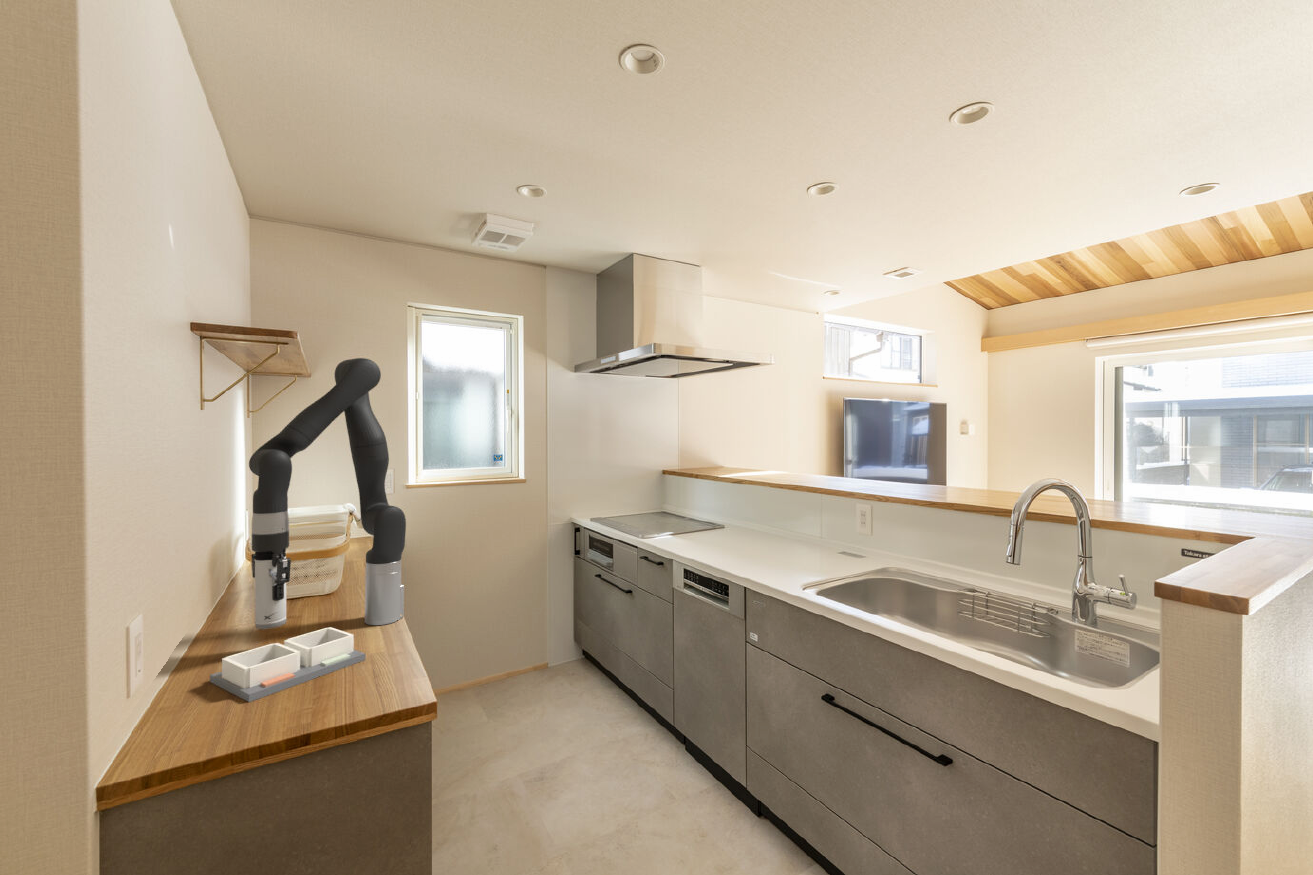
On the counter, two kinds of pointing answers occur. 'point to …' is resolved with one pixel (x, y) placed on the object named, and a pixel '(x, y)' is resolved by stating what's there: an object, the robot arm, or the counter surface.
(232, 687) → the holder board
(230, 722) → the counter surface
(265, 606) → the travel mug
